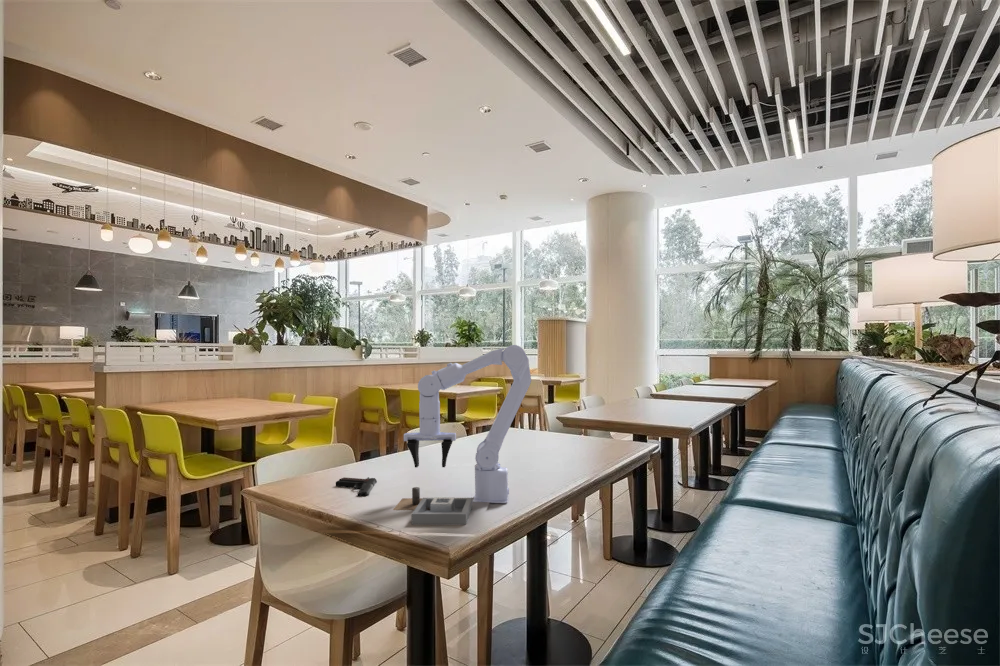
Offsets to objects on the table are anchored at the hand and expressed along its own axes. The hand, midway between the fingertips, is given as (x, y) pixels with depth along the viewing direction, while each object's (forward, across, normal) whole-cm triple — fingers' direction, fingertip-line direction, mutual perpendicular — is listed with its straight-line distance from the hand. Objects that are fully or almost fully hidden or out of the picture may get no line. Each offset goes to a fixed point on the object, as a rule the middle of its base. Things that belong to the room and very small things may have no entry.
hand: (430, 466), depth 139 cm
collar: (+9, +6, -14) cm, 17 cm away
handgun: (+10, -26, +10) cm, 30 cm away
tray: (+9, +6, -14) cm, 18 cm away
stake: (+9, -3, -5) cm, 11 cm away
